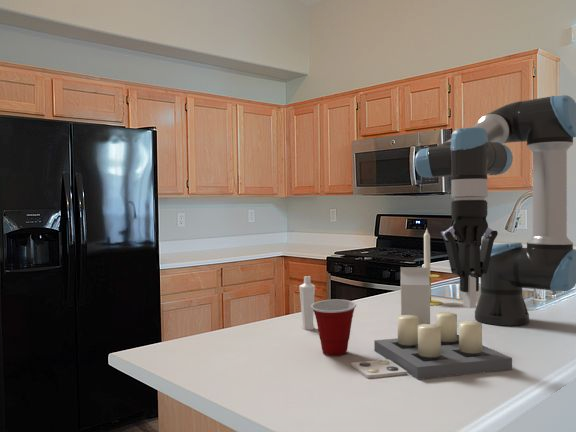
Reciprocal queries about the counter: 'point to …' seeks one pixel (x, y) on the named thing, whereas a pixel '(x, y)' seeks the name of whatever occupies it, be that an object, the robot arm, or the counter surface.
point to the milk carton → (415, 293)
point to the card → (378, 368)
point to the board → (442, 359)
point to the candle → (427, 264)
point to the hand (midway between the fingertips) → (469, 306)
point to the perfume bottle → (307, 303)
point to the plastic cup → (334, 324)
